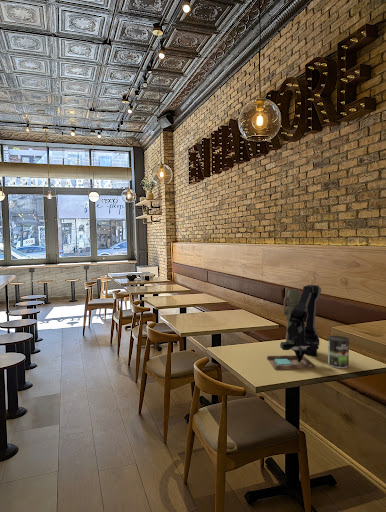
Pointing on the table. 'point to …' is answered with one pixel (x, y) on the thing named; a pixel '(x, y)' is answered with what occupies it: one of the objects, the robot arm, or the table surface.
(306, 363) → the brown flat tray
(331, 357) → the coffee can
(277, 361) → the cover plate
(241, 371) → the table surface
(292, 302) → the thermos
